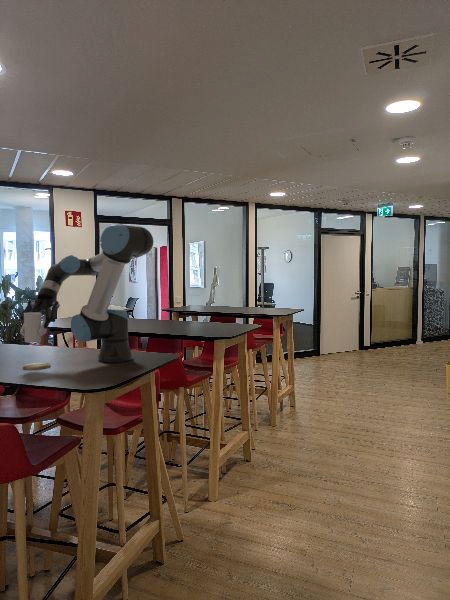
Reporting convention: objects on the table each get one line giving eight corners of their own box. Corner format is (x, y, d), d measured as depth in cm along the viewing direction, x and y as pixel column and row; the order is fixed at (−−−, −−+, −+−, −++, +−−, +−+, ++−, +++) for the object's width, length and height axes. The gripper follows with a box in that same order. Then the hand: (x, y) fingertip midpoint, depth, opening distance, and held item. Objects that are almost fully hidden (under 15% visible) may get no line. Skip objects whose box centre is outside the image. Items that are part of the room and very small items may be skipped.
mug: (28, 343, 189) (27, 314, 188) (21, 341, 194) (21, 312, 193) (51, 341, 196) (51, 312, 195) (45, 339, 201) (44, 311, 200)
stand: (56, 366, 197) (55, 364, 197) (32, 371, 188) (32, 368, 188) (40, 363, 203) (40, 361, 203) (17, 368, 194) (17, 365, 194)
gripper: (73, 298, 208) (57, 339, 193) (30, 298, 210) (11, 339, 195) (67, 287, 203) (51, 328, 188) (23, 287, 205) (4, 328, 189)
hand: (31, 333), depth 191 cm, fingers closed on mug, 7 cm apart
